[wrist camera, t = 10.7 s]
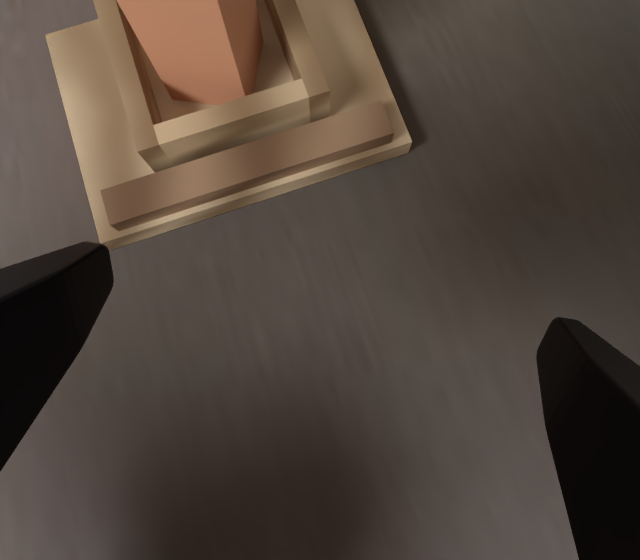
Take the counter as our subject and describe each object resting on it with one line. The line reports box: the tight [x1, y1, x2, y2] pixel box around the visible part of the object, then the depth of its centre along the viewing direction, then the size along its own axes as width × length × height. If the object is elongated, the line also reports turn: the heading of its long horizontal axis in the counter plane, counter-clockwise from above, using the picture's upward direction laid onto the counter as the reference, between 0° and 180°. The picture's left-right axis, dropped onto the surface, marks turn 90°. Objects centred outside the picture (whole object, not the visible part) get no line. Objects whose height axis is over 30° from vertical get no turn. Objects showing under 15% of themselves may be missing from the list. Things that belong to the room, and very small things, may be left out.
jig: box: [45, 0, 412, 250], centre depth 23 cm, size 16×12×4 cm
